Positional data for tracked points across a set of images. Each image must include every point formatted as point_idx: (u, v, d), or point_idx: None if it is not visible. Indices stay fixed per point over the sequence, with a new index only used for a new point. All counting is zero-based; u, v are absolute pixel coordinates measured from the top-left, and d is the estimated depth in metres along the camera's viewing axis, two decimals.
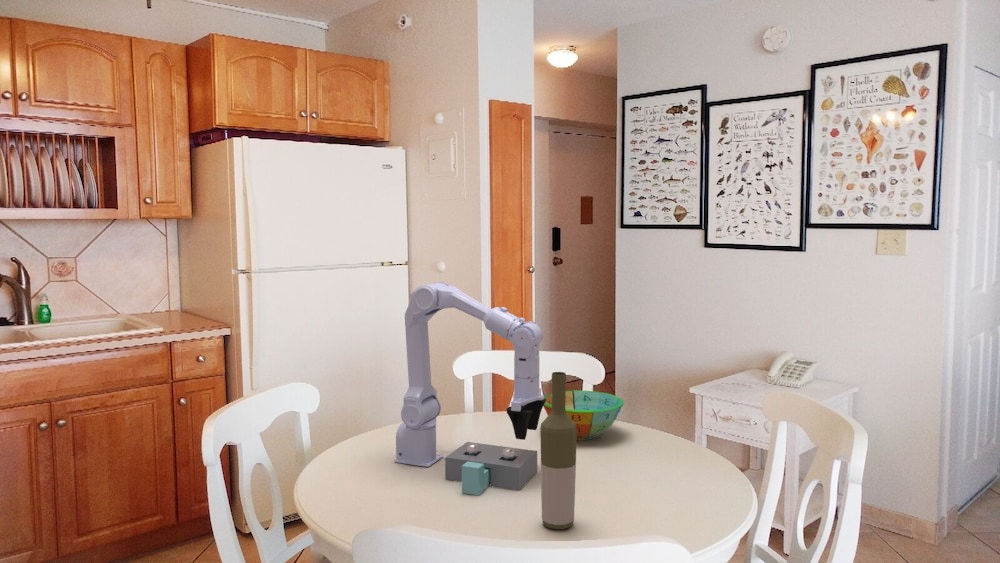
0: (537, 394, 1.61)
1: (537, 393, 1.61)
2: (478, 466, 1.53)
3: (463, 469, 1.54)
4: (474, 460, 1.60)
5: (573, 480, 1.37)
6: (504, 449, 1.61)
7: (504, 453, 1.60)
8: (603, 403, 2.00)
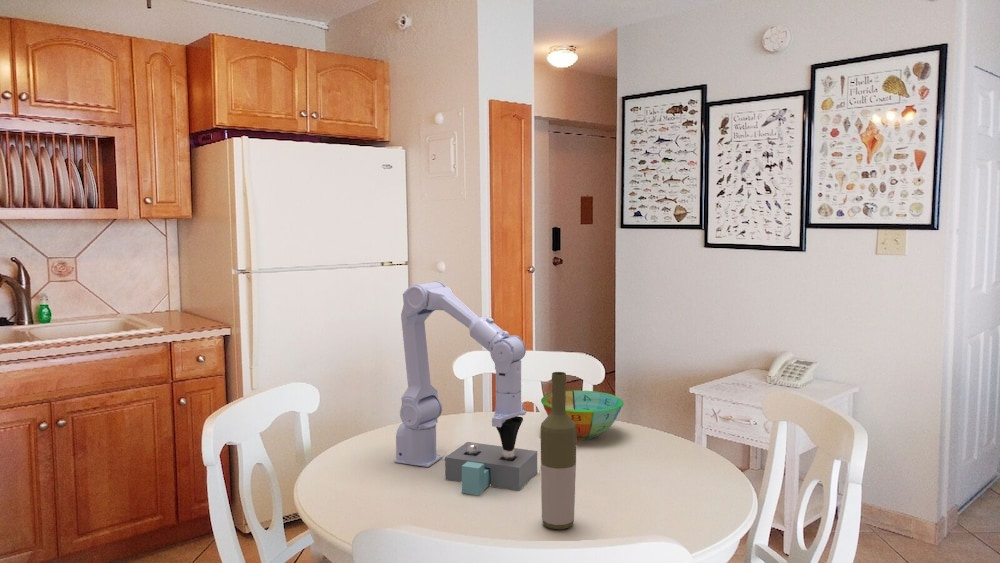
0: (519, 409, 1.59)
1: (519, 408, 1.59)
2: (478, 466, 1.53)
3: (463, 469, 1.54)
4: (474, 460, 1.60)
5: (573, 480, 1.37)
6: None
7: (504, 453, 1.60)
8: (603, 403, 2.00)
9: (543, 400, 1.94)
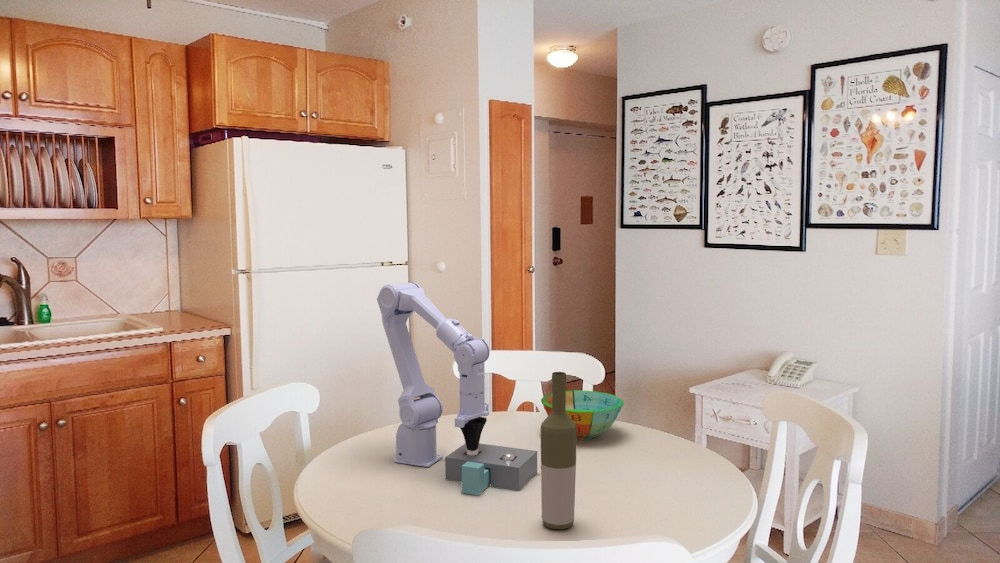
0: (482, 410, 1.63)
1: (482, 409, 1.63)
2: (478, 466, 1.53)
3: (463, 469, 1.54)
4: (474, 460, 1.60)
5: (573, 480, 1.37)
6: (504, 454, 1.61)
7: (504, 458, 1.61)
8: (603, 403, 2.00)
9: (543, 400, 1.94)
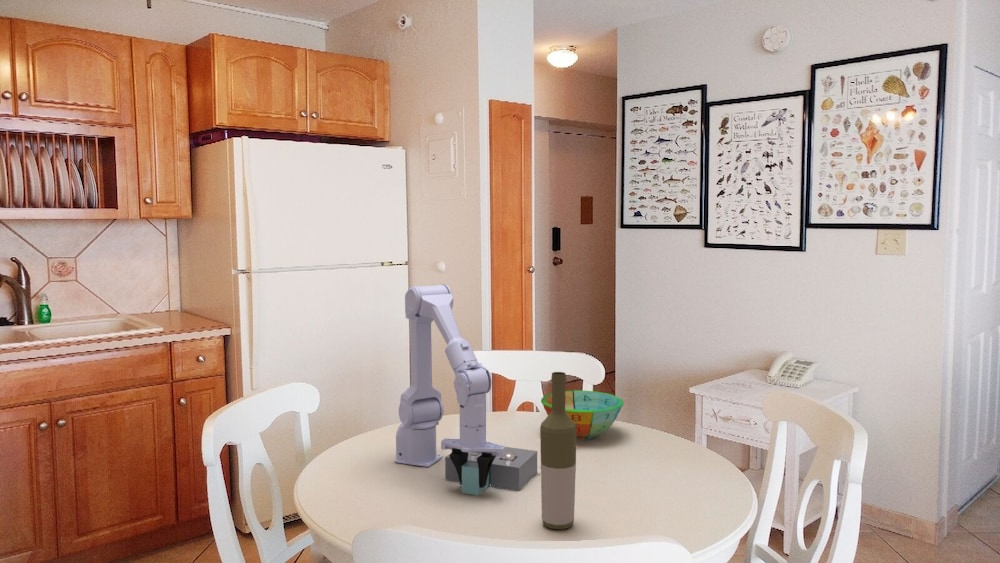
0: (465, 445, 1.52)
1: (465, 443, 1.52)
2: None
3: (463, 469, 1.54)
4: (474, 460, 1.60)
5: (573, 480, 1.37)
6: None
7: (504, 458, 1.61)
8: (603, 403, 2.00)
9: (543, 400, 1.94)
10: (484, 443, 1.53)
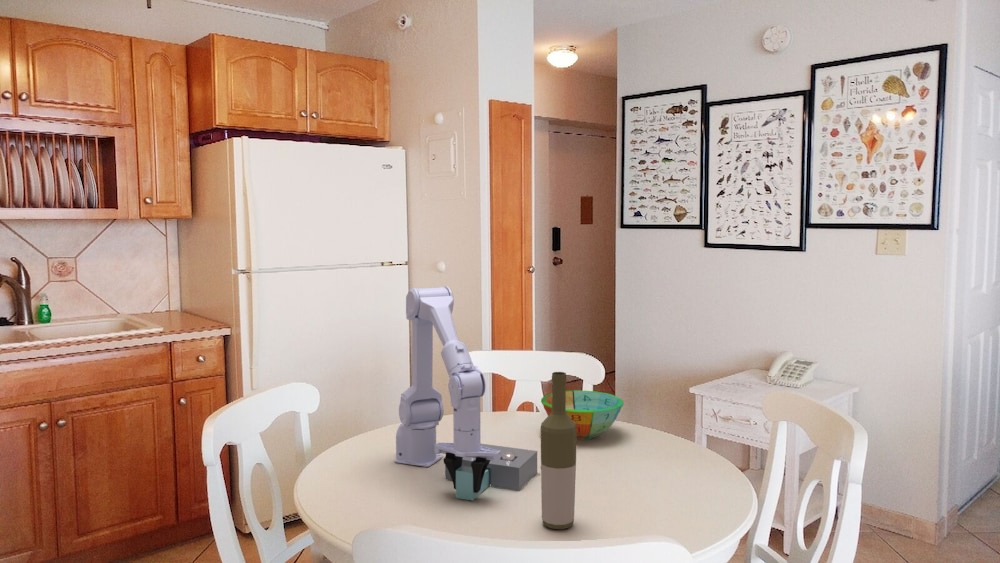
0: (459, 449, 1.49)
1: (459, 448, 1.49)
2: (472, 471, 1.51)
3: (457, 474, 1.51)
4: None
5: (573, 480, 1.37)
6: (504, 454, 1.61)
7: (504, 458, 1.61)
8: (603, 403, 2.00)
9: (543, 400, 1.94)
10: (478, 447, 1.50)
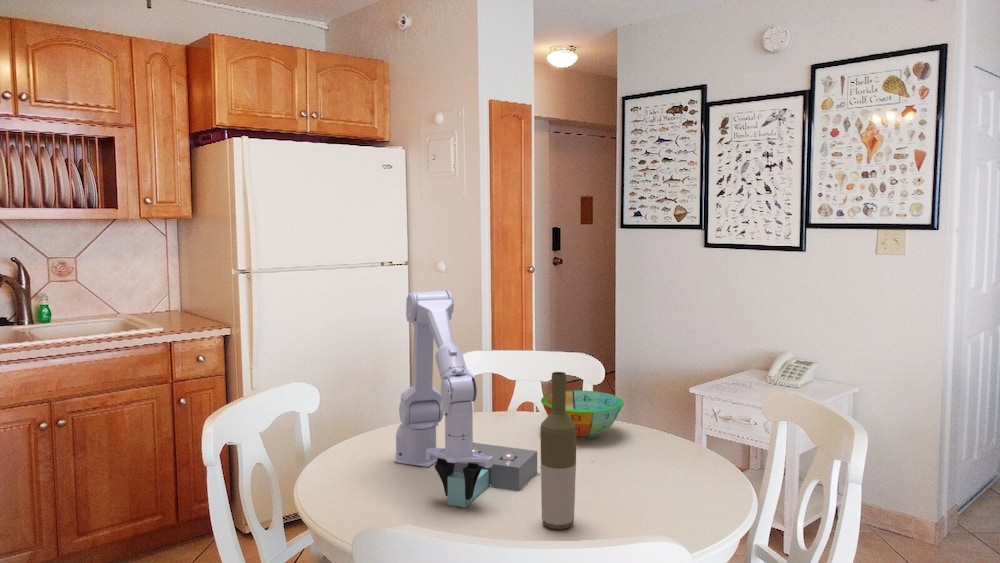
0: (450, 455, 1.45)
1: (450, 454, 1.45)
2: None
3: (449, 480, 1.47)
4: None
5: (573, 480, 1.36)
6: (504, 454, 1.61)
7: (504, 458, 1.61)
8: (603, 403, 2.00)
9: (543, 400, 1.94)
10: (470, 453, 1.46)
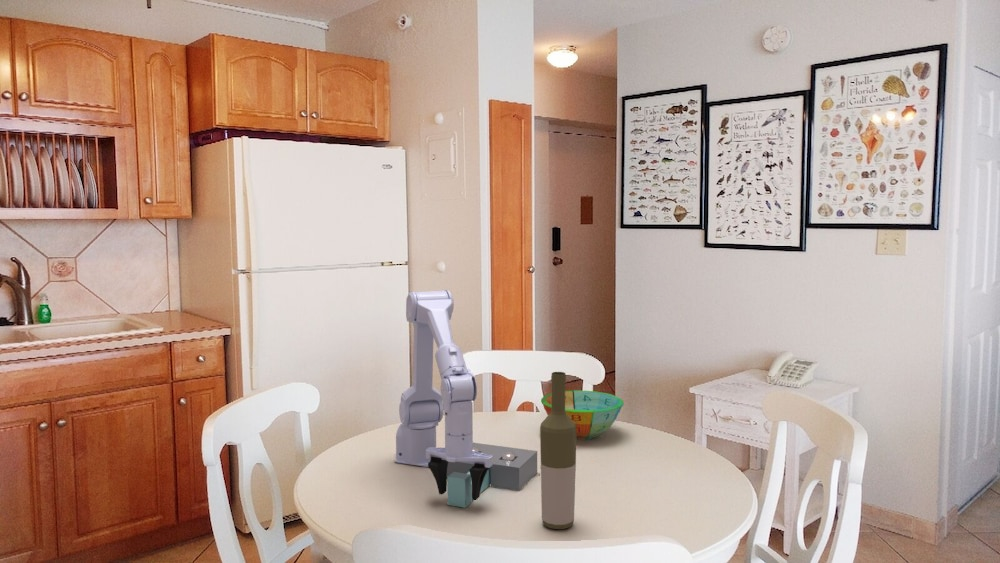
0: (450, 454, 1.45)
1: (450, 453, 1.45)
2: (464, 477, 1.47)
3: (449, 480, 1.47)
4: None
5: (573, 480, 1.37)
6: (504, 454, 1.61)
7: (504, 458, 1.61)
8: (603, 403, 2.00)
9: (543, 400, 1.94)
10: (470, 452, 1.46)
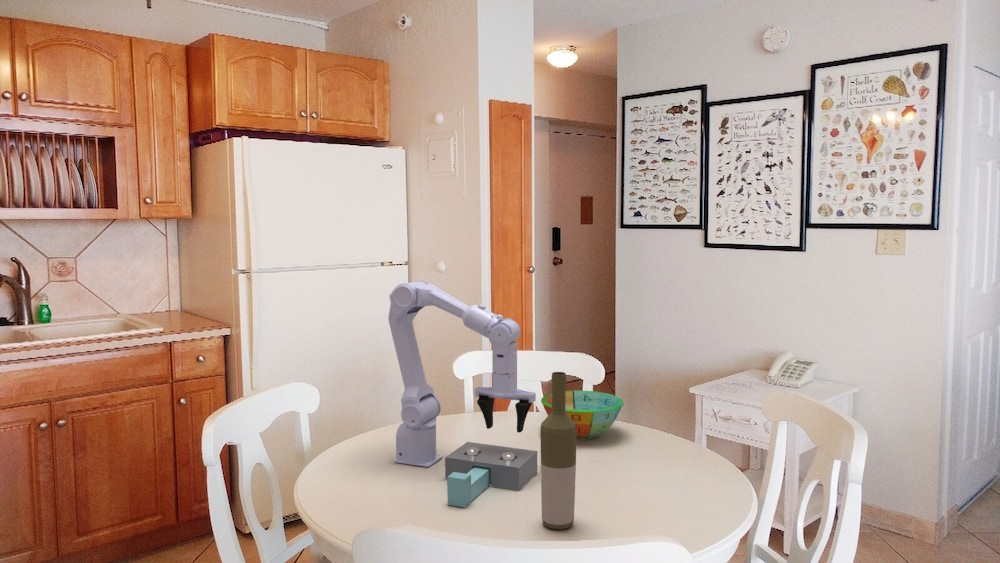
0: (498, 391, 1.63)
1: (498, 390, 1.63)
2: (464, 477, 1.47)
3: (449, 480, 1.47)
4: (474, 460, 1.60)
5: (573, 480, 1.37)
6: (504, 454, 1.61)
7: (504, 458, 1.61)
8: (603, 403, 2.00)
9: (543, 400, 1.94)
10: (515, 390, 1.64)
